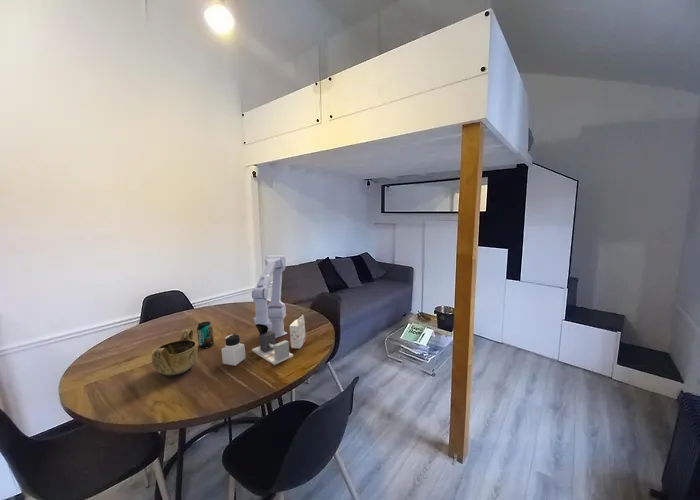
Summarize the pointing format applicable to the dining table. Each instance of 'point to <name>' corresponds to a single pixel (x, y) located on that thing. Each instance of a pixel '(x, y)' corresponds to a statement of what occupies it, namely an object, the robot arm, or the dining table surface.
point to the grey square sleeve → (267, 340)
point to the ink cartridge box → (297, 333)
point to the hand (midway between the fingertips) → (263, 338)
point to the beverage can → (205, 334)
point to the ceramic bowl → (176, 355)
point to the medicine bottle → (233, 350)
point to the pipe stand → (275, 352)
